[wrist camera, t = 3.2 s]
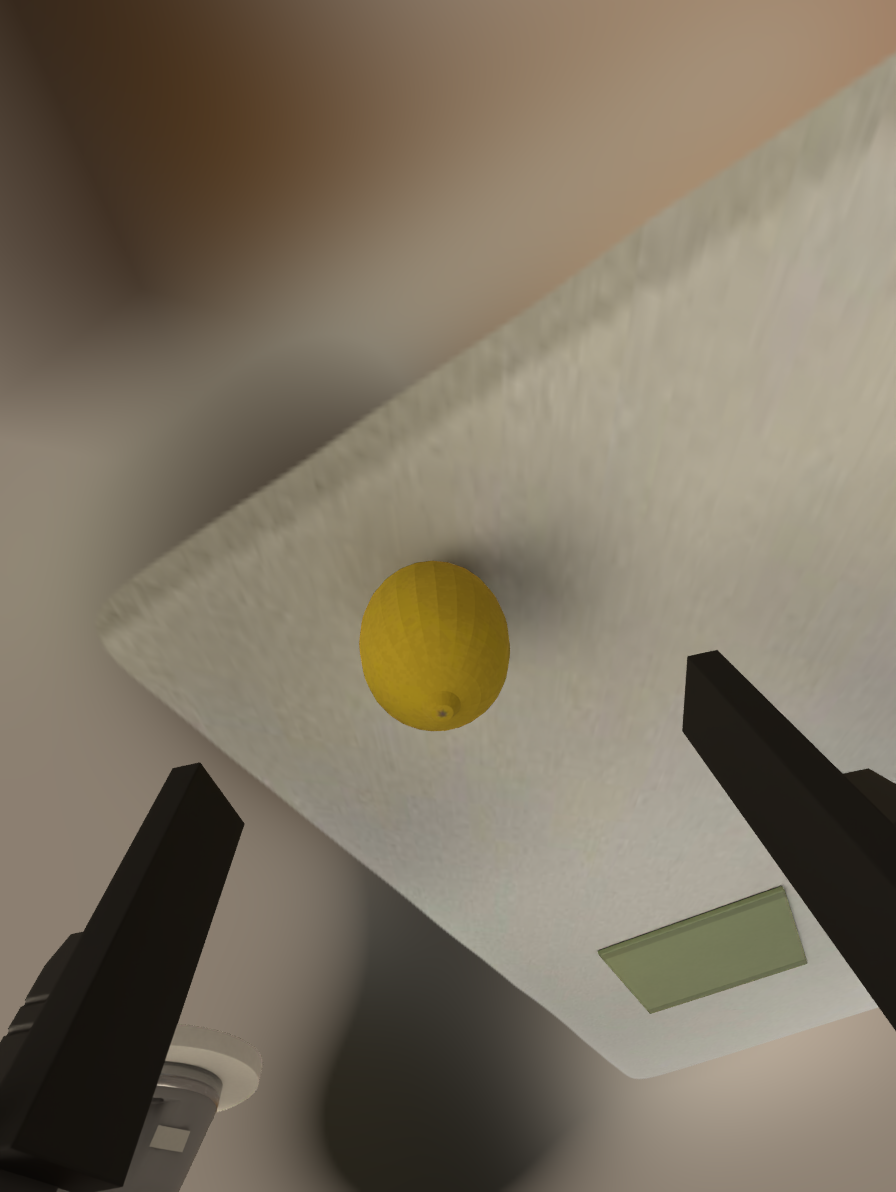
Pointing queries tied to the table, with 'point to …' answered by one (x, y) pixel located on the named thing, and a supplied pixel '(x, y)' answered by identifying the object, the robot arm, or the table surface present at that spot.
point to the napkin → (709, 952)
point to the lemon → (434, 646)
